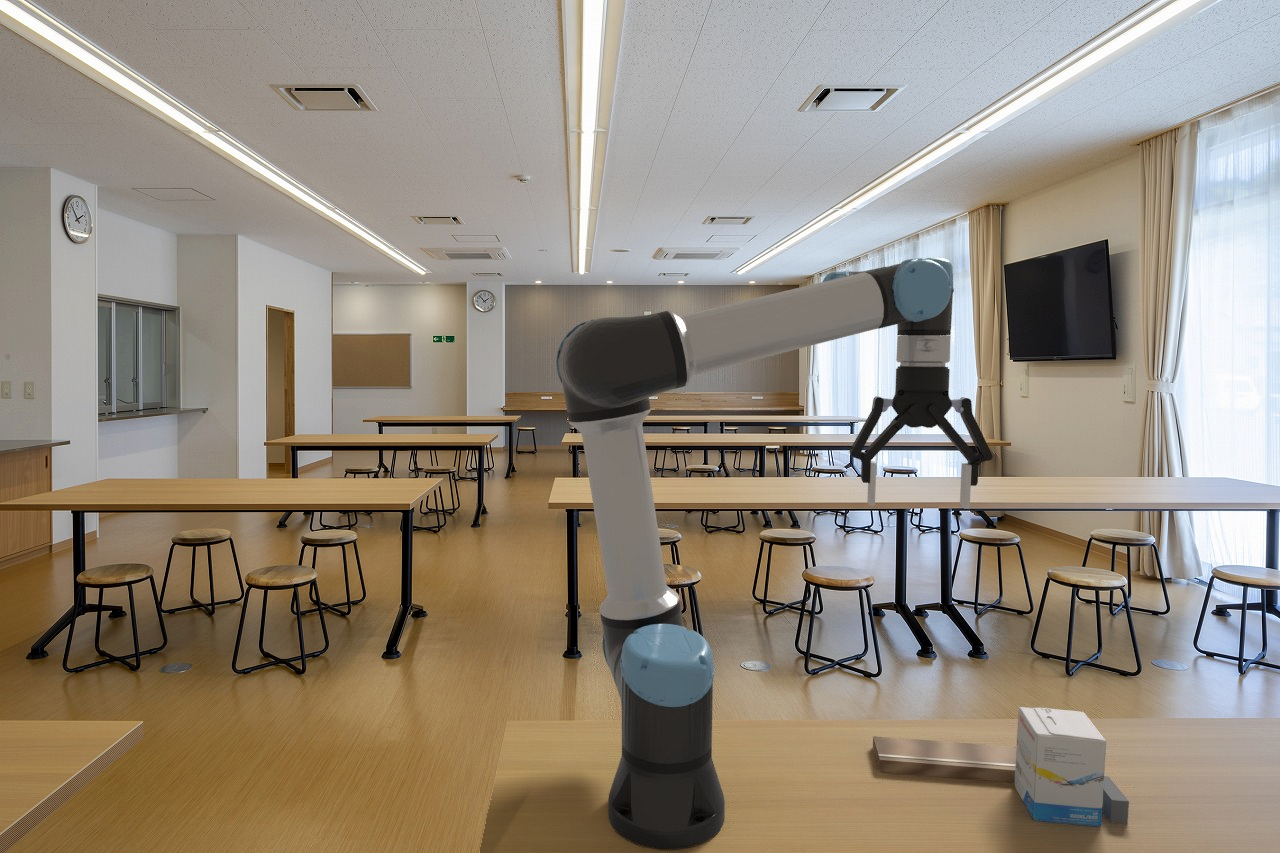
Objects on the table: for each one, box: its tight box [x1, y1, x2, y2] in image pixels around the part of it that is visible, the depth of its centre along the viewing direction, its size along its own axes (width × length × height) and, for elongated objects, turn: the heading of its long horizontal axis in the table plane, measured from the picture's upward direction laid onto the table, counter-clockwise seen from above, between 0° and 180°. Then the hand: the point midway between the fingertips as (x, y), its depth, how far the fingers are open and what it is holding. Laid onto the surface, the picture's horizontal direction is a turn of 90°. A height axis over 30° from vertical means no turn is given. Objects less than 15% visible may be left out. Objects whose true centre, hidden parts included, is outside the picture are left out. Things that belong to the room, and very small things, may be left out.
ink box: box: [1013, 706, 1107, 827], centre depth 104 cm, size 9×8×12 cm
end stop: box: [1102, 775, 1130, 825], centre depth 104 cm, size 2×6×3 cm, turn 171°
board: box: [872, 735, 1017, 784], centre depth 115 cm, size 26×7×2 cm, turn 81°
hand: (917, 505), depth 120 cm, fingers open, 13 cm apart
